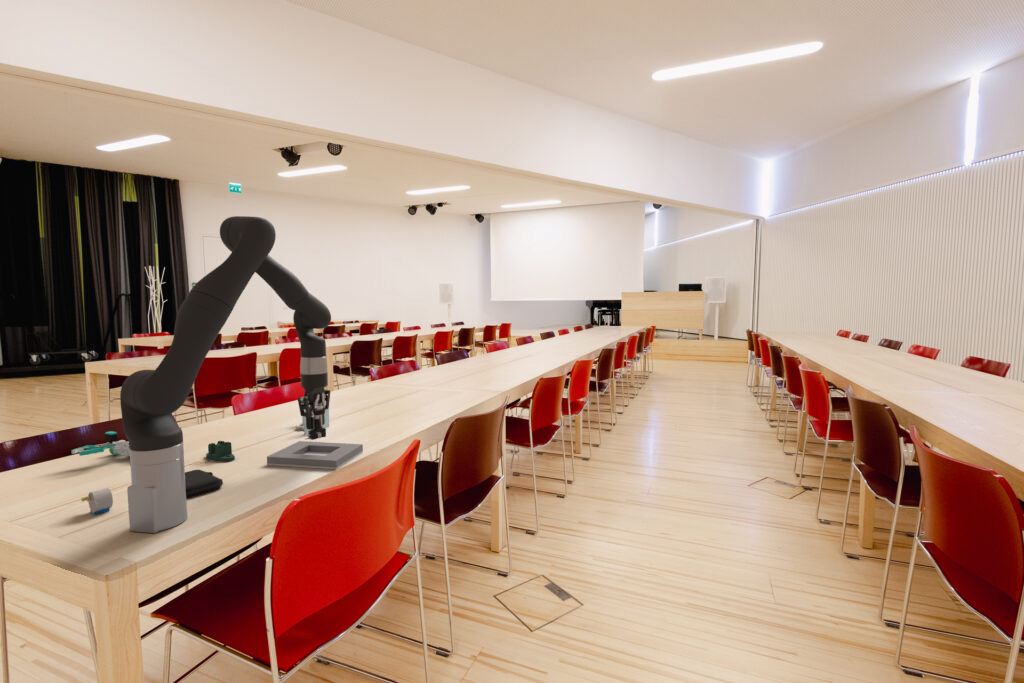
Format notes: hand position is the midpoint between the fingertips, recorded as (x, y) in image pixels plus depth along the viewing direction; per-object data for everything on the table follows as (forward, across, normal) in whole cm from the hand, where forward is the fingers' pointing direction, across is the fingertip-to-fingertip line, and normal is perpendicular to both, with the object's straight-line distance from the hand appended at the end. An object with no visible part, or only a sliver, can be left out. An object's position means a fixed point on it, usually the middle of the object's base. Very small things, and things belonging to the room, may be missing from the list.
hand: (315, 426), depth 145 cm
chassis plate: (+10, 0, 0) cm, 10 cm away
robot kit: (+10, -10, +56) cm, 58 cm away
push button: (+4, -1, 0) cm, 4 cm away
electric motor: (+10, -43, +28) cm, 52 cm away
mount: (+10, -5, +29) cm, 31 cm away
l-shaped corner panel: (+11, +31, +24) cm, 40 cm away
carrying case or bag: (+11, -26, +18) cm, 33 cm away
